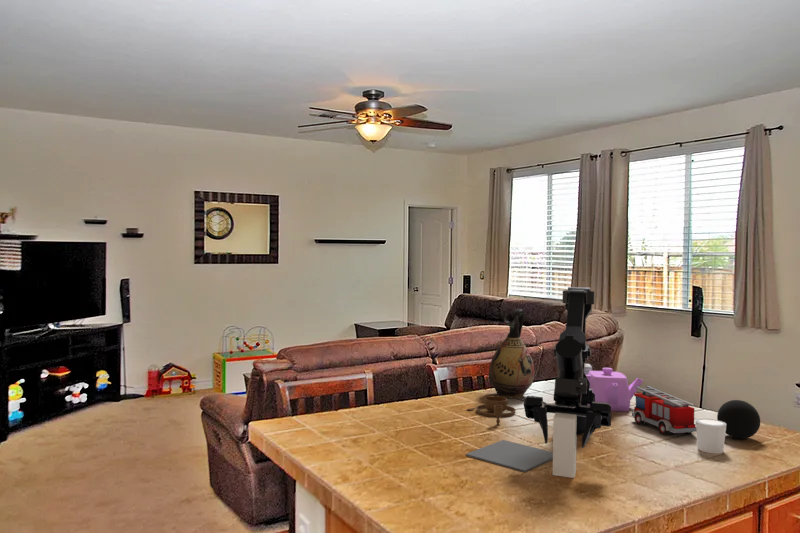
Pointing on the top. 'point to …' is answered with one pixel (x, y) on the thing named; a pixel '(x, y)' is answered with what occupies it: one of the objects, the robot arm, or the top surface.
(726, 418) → the decorative ball
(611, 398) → the teakettle
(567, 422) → the off-white post
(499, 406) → the place setting
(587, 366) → the medicine box
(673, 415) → the toy fire truck
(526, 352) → the ceramic jug
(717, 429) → the white short cylinder
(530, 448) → the charcoal rubber mat
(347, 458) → the top surface
